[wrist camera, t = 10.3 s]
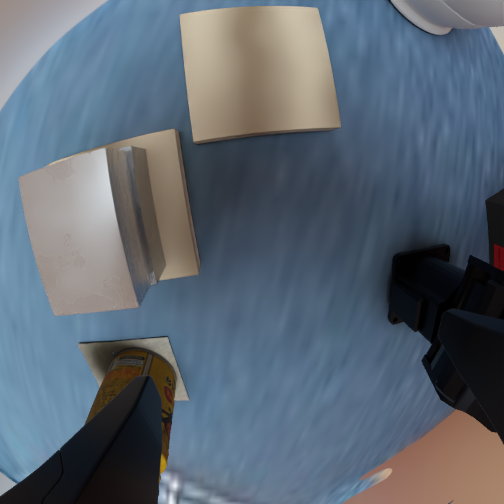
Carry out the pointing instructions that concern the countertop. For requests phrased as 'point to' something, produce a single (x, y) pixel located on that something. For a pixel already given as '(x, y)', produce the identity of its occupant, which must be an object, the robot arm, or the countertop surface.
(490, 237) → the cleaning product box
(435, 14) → the jar
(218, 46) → the stand
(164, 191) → the stand
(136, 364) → the condiment
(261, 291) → the countertop surface
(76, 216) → the block
